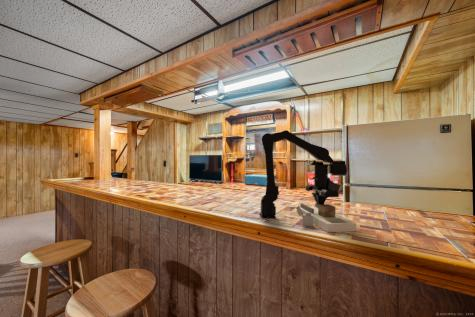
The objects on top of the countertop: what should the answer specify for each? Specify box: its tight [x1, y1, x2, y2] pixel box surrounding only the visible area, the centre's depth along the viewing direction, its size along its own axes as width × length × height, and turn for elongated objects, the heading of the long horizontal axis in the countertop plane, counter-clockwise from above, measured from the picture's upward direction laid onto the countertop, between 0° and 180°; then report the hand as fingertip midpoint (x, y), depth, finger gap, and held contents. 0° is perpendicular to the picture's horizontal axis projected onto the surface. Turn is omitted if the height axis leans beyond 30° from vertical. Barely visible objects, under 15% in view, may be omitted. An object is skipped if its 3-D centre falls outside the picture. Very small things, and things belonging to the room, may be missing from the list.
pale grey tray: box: [296, 202, 357, 233], centre depth 92 cm, size 12×28×5 cm, turn 7°
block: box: [318, 203, 337, 218], centre depth 89 cm, size 5×5×4 cm
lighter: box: [295, 204, 314, 227], centre depth 86 cm, size 7×2×8 cm, turn 68°
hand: (320, 209), depth 93 cm, fingers closed
